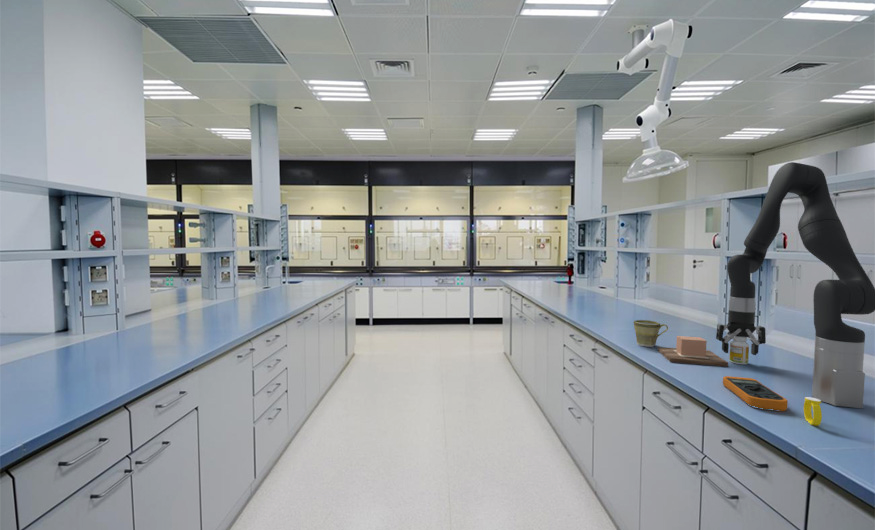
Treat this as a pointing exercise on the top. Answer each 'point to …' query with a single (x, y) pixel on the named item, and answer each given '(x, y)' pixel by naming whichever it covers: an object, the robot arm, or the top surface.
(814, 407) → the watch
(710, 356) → the walnut board
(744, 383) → the multimeter
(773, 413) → the top surface
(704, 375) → the top surface
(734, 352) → the supplement bottle
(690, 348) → the terracotta block
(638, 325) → the ceramic cup
